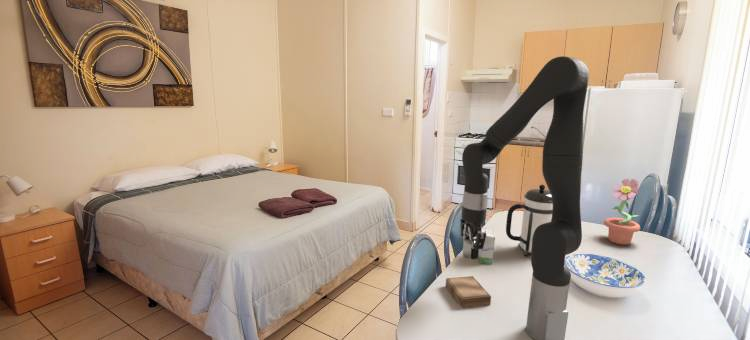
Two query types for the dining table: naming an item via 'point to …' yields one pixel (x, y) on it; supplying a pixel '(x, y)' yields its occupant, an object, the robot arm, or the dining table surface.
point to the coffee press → (531, 216)
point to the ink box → (487, 247)
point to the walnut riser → (468, 292)
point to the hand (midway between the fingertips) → (470, 254)
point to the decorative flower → (623, 214)
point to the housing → (467, 248)
